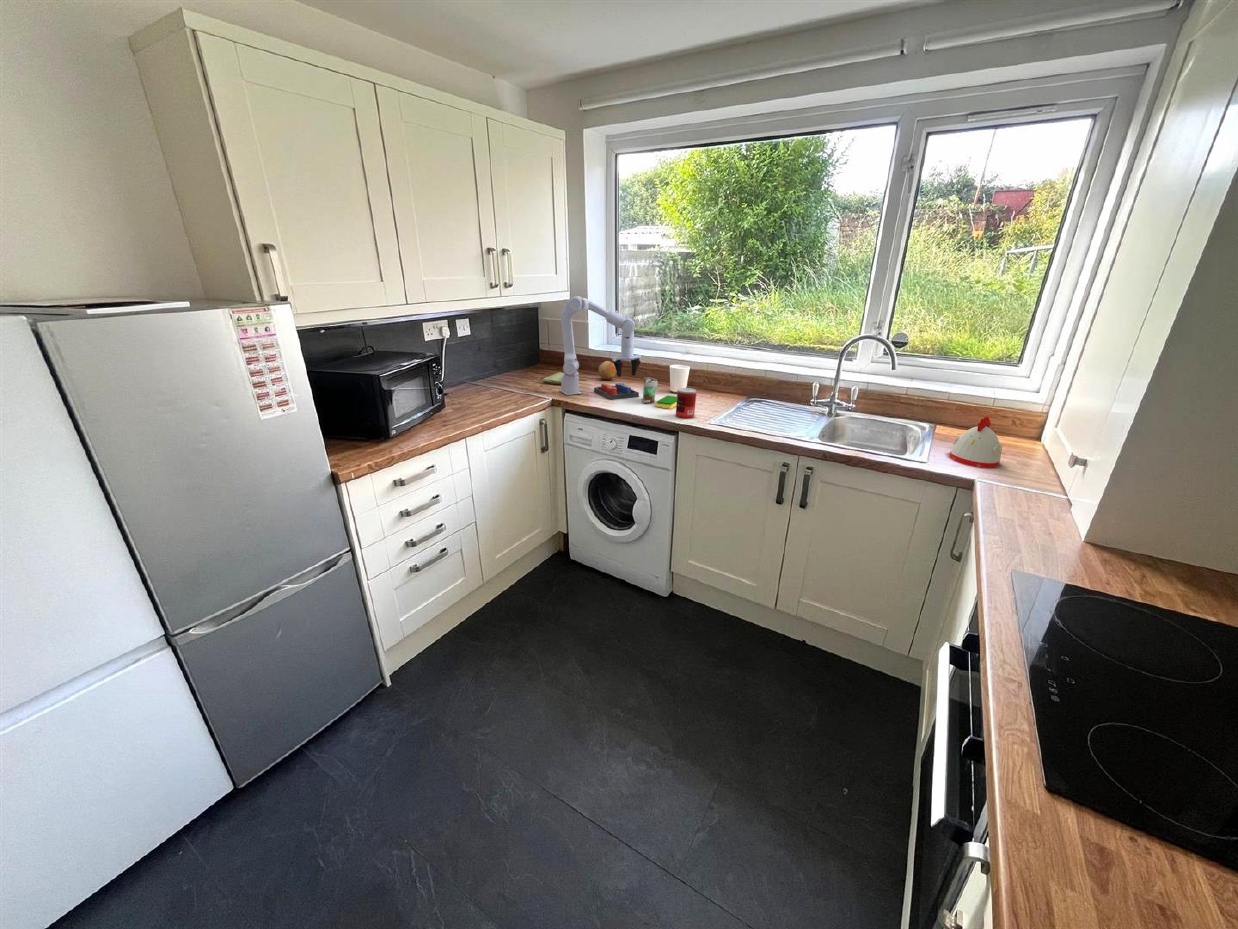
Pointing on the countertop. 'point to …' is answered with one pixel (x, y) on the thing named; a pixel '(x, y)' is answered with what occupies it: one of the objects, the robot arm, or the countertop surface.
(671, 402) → the dish sponge
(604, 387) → the red rectangular block
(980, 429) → the kitchen timer
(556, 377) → the washcloth
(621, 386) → the blue rectangular block
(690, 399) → the canned food
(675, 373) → the cup
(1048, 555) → the countertop surface
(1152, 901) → the countertop surface
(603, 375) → the onion
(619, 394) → the tray
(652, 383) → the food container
